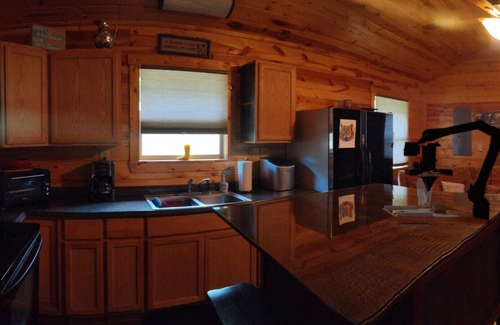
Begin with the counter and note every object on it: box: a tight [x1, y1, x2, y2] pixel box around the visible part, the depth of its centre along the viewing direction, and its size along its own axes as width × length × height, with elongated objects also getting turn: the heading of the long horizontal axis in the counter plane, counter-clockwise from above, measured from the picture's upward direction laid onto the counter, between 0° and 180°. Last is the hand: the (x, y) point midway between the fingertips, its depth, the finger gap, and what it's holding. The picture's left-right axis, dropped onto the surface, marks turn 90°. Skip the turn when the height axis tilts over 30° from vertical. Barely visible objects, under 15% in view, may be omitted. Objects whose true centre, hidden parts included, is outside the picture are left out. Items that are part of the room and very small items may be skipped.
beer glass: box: [416, 177, 433, 208], centre depth 162 cm, size 7×7×15 cm
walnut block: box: [428, 202, 447, 213], centre depth 147 cm, size 5×5×4 cm
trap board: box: [382, 205, 461, 218], centre depth 148 cm, size 17×27×3 cm, turn 85°
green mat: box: [396, 222, 430, 227], centre depth 134 cm, size 11×11×1 cm
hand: (428, 191), depth 147 cm, fingers closed
